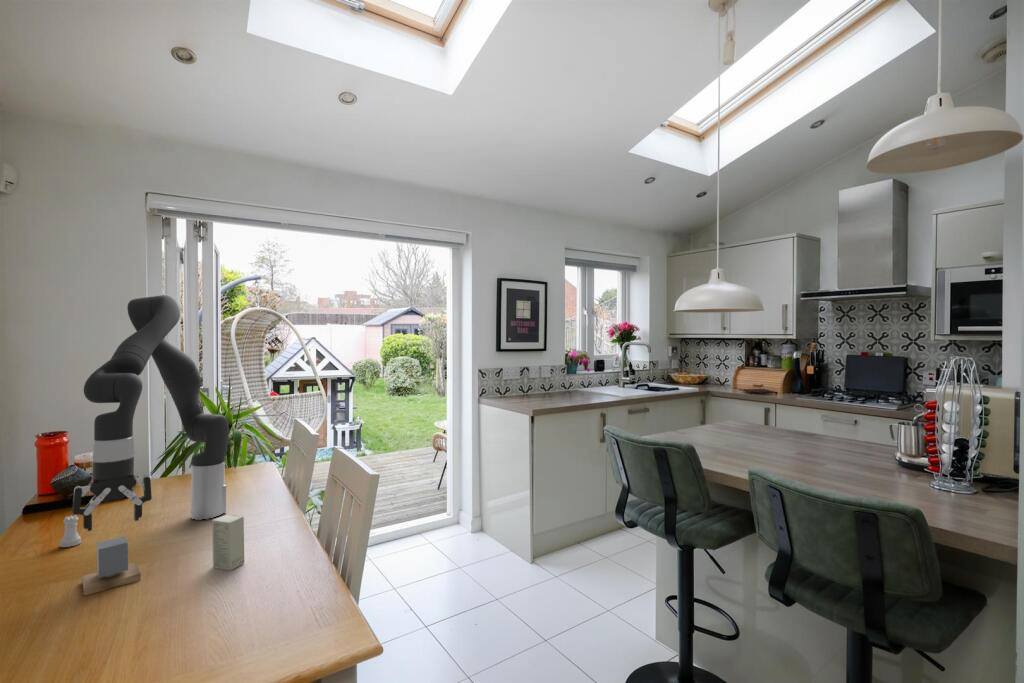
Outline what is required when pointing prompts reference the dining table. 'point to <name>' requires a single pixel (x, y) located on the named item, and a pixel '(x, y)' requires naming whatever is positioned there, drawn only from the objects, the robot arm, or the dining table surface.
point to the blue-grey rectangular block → (112, 556)
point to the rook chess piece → (70, 532)
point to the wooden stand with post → (110, 580)
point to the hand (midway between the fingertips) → (113, 524)
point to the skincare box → (228, 541)
